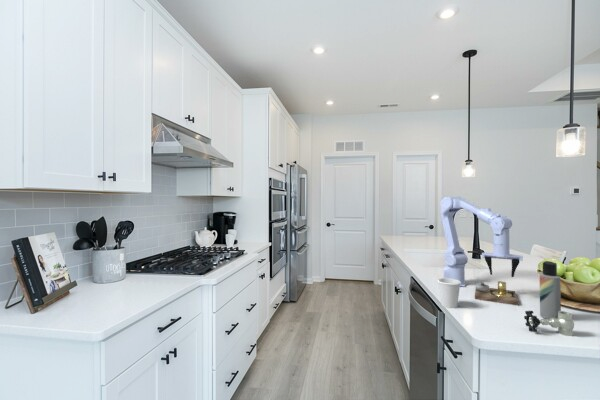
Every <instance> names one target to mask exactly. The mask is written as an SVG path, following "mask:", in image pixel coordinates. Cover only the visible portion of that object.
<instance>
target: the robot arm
mask: <svg viewBox="0 0 600 400" xmlns="http://www.w3.org/2000/svg"><path fill="white" fill-rule="evenodd" d="M439 204H440V213H439V214H440V218H441V223H442V228H443V233H444V235H445V241H446V246H447V248H446V250H445V251H444V255H445V256H444V262H445V265H443V278H449V279H455V280H458V281H460V282H461V284H460V287H463V288H466V284H467V282H466V280H465V278H466V277H465V267H466V265H467V263H468V260H469V259H468V255H467V254H466V252H465V249H463V248H462V247H461V245H460V242H459V241H460V240H459V237H458V233H457V230H456V224H455V220H454V215H455V213H457V212H458V211H460V210H461V209H464V210H466V211H468V212H470V213H472V214H474V215H476V217H477V219H478V220H480V221H482V222H483V223H486V224H487V225H490V228H491V229H492V234H493V235H492V236H493V252H481V258H484V260H485V262H486V265H487V267H488V269H489V273H490V275H491V276H493V268H492V264H493V263H492V259H498V260H500V259H501V260H511V272H510V273H511V278H514V277H515V273H516V270H517V268H518V266H519V264H520V263H521V262H520V261H522V262H523V258H524V257H523V255H518V254H510V229H511V228H512V226H513V221H512V219H511V218H510V217H508V216H504V215H501V213H497V212H494V211H492V210H491V208H481V207H479V206H477V205H475V204H474V203H471V202H470V201H468V200H466V198H462V197H461V196H450V197H449V196H445V197H443V198H442V199H441V201H439Z"/></svg>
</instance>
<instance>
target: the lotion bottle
mask: <svg viewBox="0 0 600 400" xmlns="http://www.w3.org/2000/svg"><path fill="white" fill-rule="evenodd" d="M557 268H558V266H557V263H556V262H553V261H548V260H547V261H546V260H545V261H542V273H540V274H539V315H540V317H541V318H542V319H547V320H549V319H550V318H556V319H557V318H558V311H562V303H561V301H562V299H561V298H562V295H561V291H562V290H561V287H562V286H561V276H559V275H558V269H557Z"/></svg>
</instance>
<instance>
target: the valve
mask: <svg viewBox="0 0 600 400" xmlns="http://www.w3.org/2000/svg"><path fill="white" fill-rule="evenodd" d="M524 313H525V315H524V316H523V318H524V320H526V321H525V323H524V324H525V326H526V327H528V331H529V332H535V333H538V327H540V326H539V325H541V324H542V325H543V326H548V325H549V326H550V327H551V328H554V329H558V331H557V333H558V334H560V335H562V336H566V337H573V331H574V329H575V322H574V321H573V313H571V312H568V311H564V310H561V311H558V318H557V319H556V318H550V319H545V318H541V319H540V318H538V317H537V315H533V314H534V311H533V310H525V311H524Z"/></svg>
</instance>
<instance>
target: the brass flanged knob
mask: <svg viewBox="0 0 600 400" xmlns="http://www.w3.org/2000/svg"><path fill="white" fill-rule="evenodd" d="M497 289H498V291H493V292H492V293H491V295H497V296H504V297H512V298H513V296H512V294H510V293H507V292H506V290H507V282H506V281H499V280H498V281H497Z"/></svg>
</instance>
